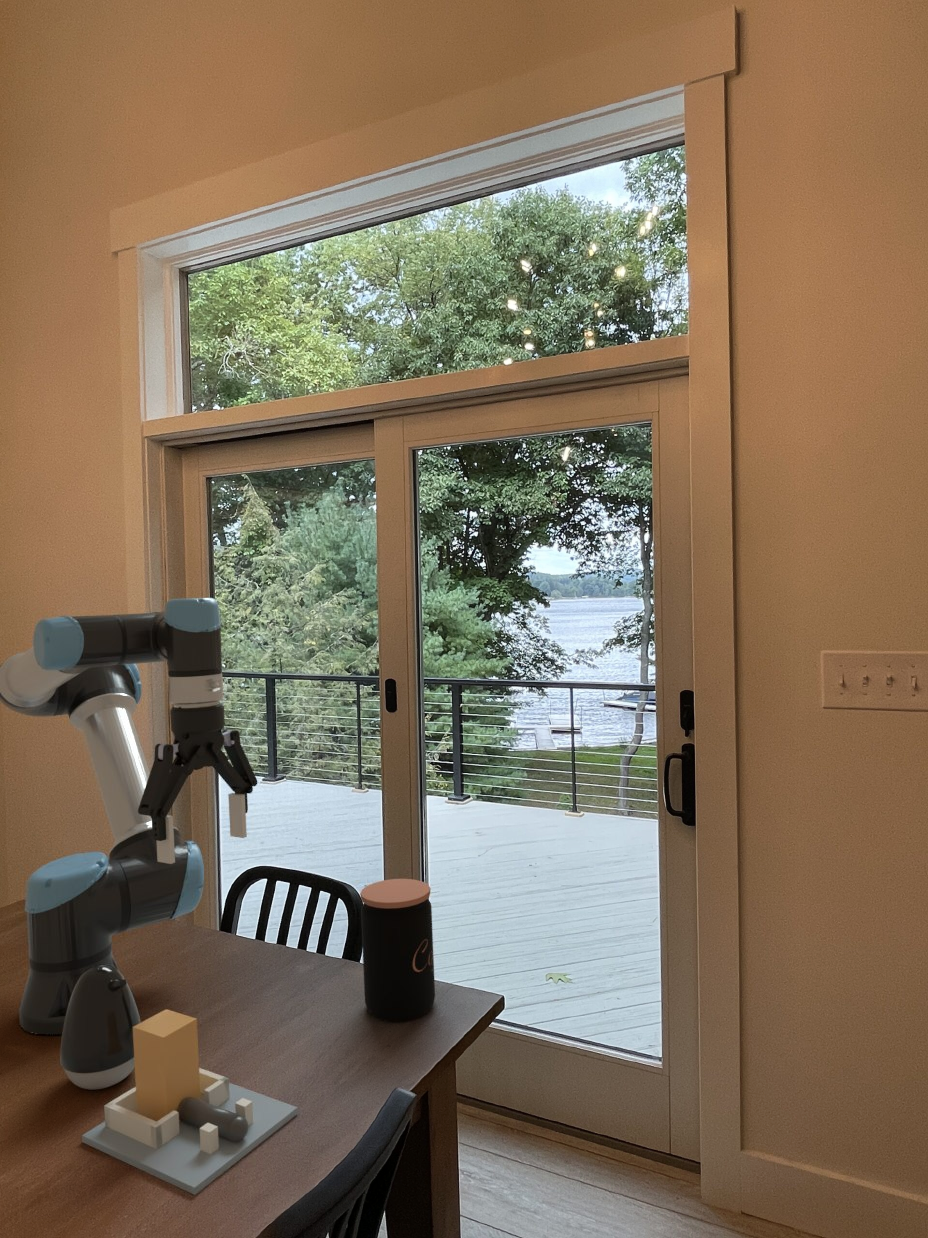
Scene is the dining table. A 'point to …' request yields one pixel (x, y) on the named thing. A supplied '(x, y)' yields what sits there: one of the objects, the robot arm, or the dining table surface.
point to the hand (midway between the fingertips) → (204, 849)
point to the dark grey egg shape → (99, 1029)
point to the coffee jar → (397, 949)
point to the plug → (176, 1075)
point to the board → (187, 1134)
